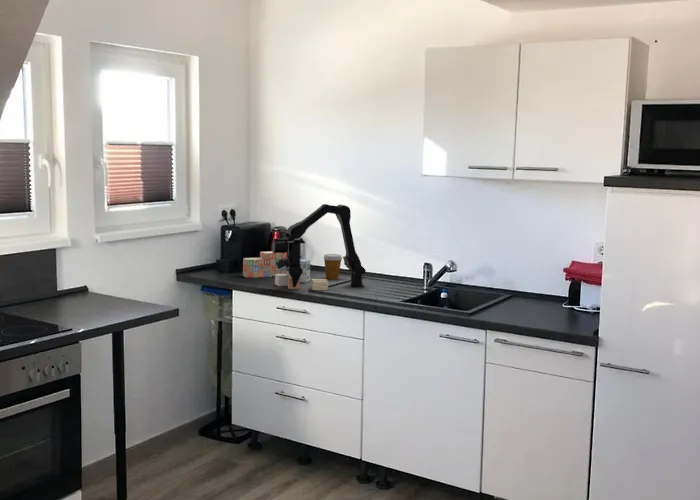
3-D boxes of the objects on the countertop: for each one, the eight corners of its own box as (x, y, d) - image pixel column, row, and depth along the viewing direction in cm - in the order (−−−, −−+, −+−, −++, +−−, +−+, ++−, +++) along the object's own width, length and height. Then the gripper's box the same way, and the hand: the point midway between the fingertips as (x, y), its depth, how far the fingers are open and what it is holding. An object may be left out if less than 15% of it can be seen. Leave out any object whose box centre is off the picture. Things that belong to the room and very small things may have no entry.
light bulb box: (310, 280, 381) (310, 259, 380) (307, 282, 375) (307, 261, 373) (289, 279, 383) (289, 257, 382) (285, 281, 377) (286, 259, 375)
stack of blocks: (246, 278, 383) (246, 253, 382) (242, 276, 389) (243, 252, 387) (286, 276, 393) (287, 252, 391) (282, 274, 398) (282, 250, 397)
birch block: (311, 287, 363) (311, 279, 362) (325, 287, 364) (326, 279, 363) (313, 290, 356) (313, 281, 355) (327, 290, 357) (328, 281, 356)
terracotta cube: (287, 287, 362) (287, 276, 361) (298, 287, 363) (298, 276, 362) (288, 289, 357) (288, 278, 356) (299, 289, 358) (299, 278, 357)
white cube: (274, 284, 368) (275, 274, 367) (284, 284, 370) (285, 273, 369) (278, 286, 363) (278, 275, 363) (288, 285, 365) (288, 275, 365)
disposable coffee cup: (335, 276, 395) (336, 253, 394) (345, 279, 387) (345, 256, 385) (319, 277, 390) (320, 254, 389) (328, 280, 382) (329, 256, 381)
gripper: (275, 249, 365) (275, 282, 367) (278, 255, 347) (277, 289, 349) (298, 250, 367) (298, 282, 369) (303, 255, 349) (302, 289, 351)
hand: (293, 285), depth 360 cm, fingers open, 7 cm apart
